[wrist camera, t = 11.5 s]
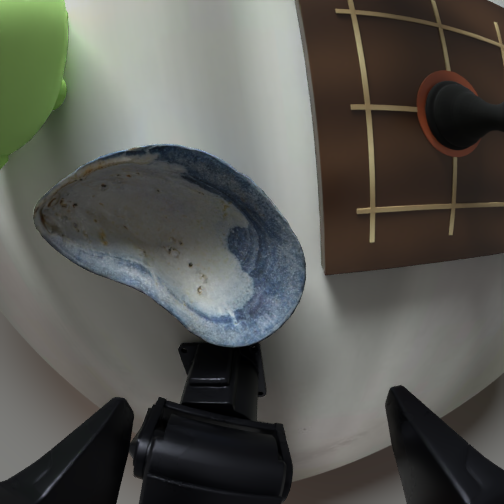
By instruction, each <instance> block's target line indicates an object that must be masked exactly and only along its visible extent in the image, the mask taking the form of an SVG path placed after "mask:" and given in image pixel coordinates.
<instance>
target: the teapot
mask: <svg viewBox="0 0 504 504" xmlns="http://www.w3.org/2000/svg"><path fill="white" fill-rule="evenodd" d="M67 20H68V13H67V11H66V7H65V2H64V0H0V169H1V168H2V167H3V166H4V165H5V164H6V163H7V162H8V161H9V159H8V156H9V155H10V154H12V153H13V152H15V151H16V150H18V149H19V148H21V147H22V146H23V145H25V144H26V143H27V142H28V141H30V140H31V139H32V138H33V136H34V135H35V134H36V133H37V132H38V131H39V130H40V128H41V127H42V126H43V124H44V123H45V121H46V120H47V118H48V117H49V115H50V113H51V111H53V110H56V109H57V108H59V107H60V106H61V105H62V103H63V102H64V99H65V97H66V92H67V87H66V83H65V81H64V80H63V79H62V78H63V74H64V69H65V63H66V57H67V48H68V22H67Z"/></svg>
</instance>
